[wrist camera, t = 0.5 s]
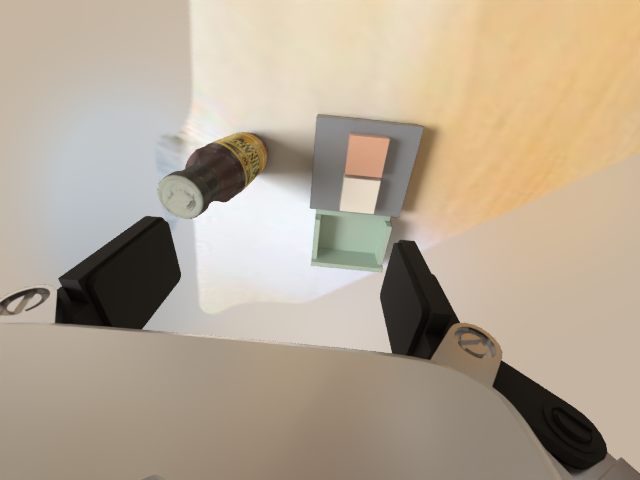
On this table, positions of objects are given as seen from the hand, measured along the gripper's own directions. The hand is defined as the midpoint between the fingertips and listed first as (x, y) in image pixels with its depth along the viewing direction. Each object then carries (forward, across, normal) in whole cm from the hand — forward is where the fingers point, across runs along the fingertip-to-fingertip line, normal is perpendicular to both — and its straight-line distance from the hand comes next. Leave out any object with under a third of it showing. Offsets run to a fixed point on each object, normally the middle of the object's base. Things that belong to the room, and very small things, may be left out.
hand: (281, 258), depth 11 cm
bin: (+31, -7, +16) cm, 35 cm away
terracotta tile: (+28, -7, +2) cm, 29 cm away
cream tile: (+28, -7, +7) cm, 30 cm away
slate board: (+31, -7, +4) cm, 32 cm away
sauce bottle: (+31, +10, +3) cm, 33 cm away
